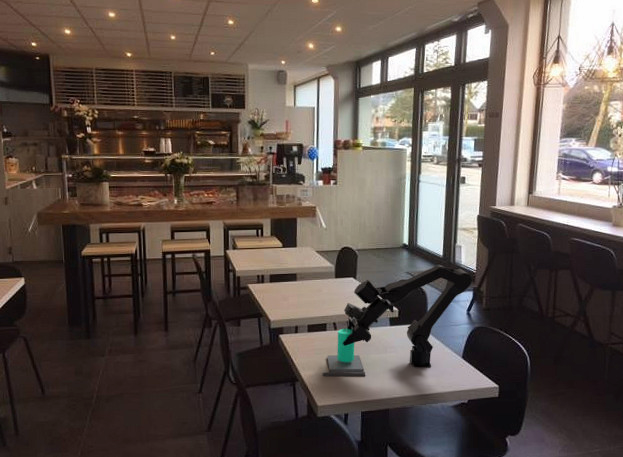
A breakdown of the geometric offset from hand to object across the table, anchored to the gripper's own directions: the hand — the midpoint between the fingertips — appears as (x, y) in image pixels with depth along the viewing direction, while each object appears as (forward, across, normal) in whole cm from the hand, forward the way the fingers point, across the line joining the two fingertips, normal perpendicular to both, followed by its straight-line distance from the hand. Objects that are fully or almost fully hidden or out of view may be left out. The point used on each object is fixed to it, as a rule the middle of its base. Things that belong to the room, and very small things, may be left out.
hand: (342, 341), depth 197 cm
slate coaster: (+5, 0, +7) cm, 9 cm away
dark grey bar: (+6, +9, +6) cm, 13 cm away
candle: (+4, 0, +6) cm, 7 cm away
